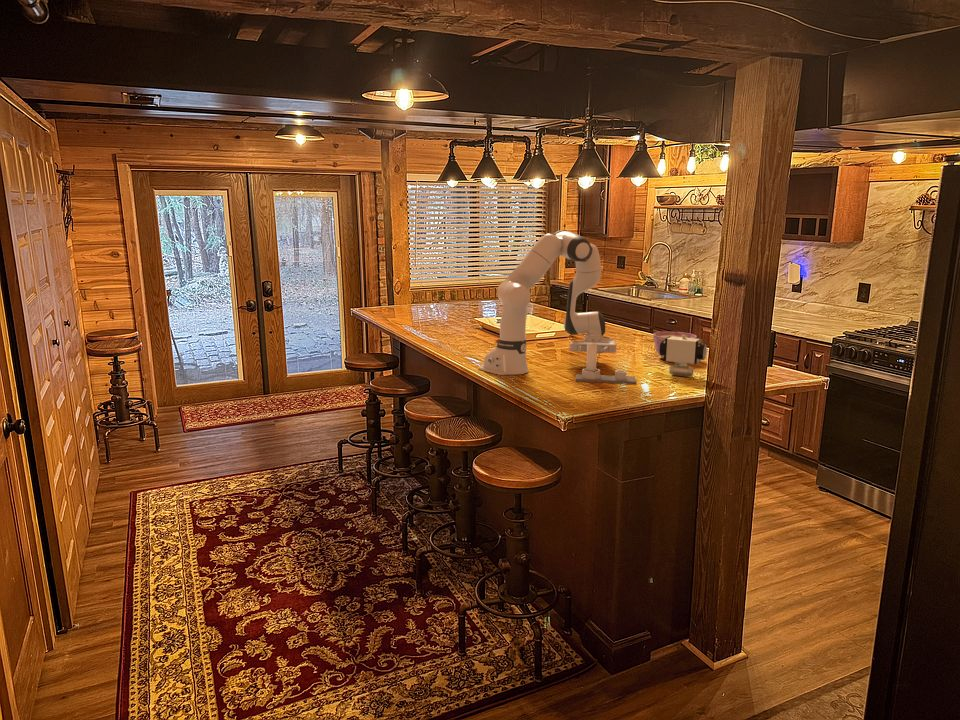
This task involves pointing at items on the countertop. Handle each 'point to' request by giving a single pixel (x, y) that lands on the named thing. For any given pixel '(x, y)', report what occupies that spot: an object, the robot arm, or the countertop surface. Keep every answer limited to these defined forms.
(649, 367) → the countertop surface
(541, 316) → the countertop surface
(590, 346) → the pvc pipe
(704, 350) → the ball valve
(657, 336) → the clear bowl
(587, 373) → the plate
